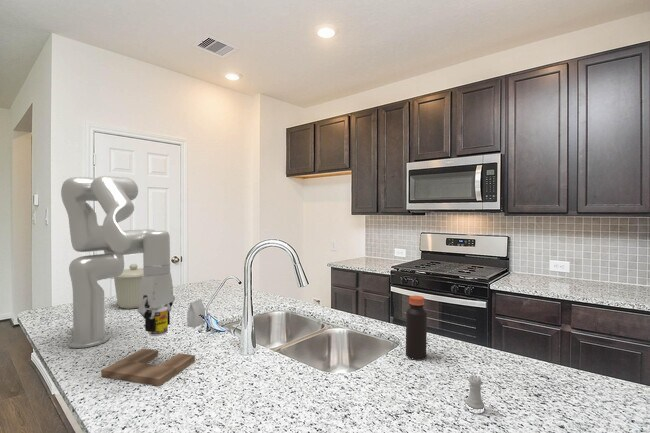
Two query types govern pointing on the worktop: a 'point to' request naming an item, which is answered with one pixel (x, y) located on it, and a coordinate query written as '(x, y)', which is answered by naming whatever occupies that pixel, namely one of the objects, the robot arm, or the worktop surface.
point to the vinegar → (416, 328)
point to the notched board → (147, 368)
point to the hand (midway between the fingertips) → (157, 327)
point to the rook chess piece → (475, 393)
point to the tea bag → (195, 313)
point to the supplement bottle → (160, 321)
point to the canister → (129, 287)
